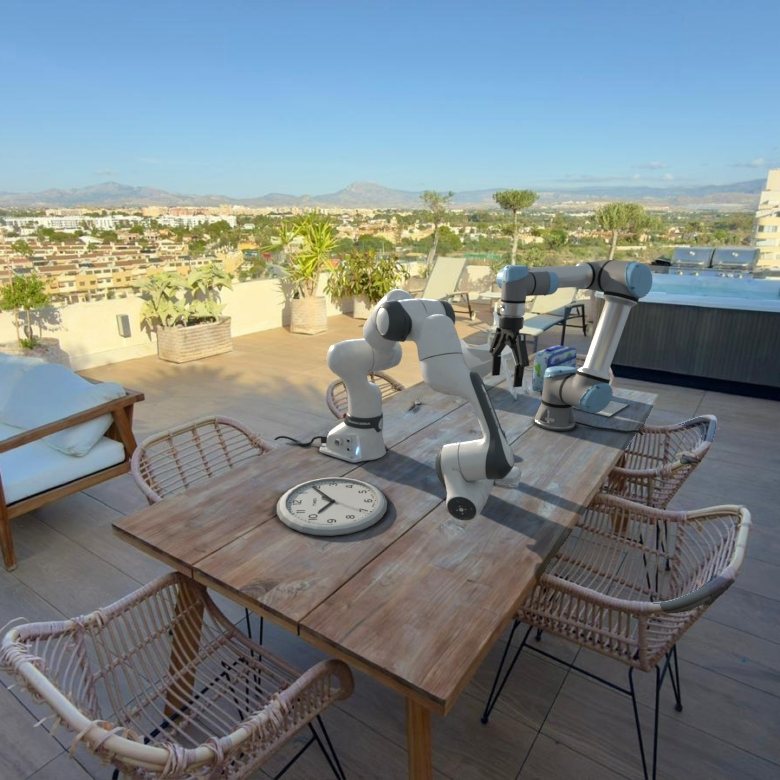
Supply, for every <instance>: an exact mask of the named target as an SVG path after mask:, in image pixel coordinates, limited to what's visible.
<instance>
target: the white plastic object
mask: <svg viewBox="0 0 780 780" xmlns="http://www.w3.org/2000/svg"><path fill="white" fill-rule="evenodd" d="M492 315H493V319H494V321H495V324H496V325H495V326H496V328H498V327H499V317H500V315H499V314H498V312H497V311H496V310H495V311H492ZM459 340H460V344H461V348H462V352H463V357H464V360H465V363H466V365H467V366H468V368H469V369H470V370H471V371H472V372H476V373H478V374H479V376H480V377H481V379H482V380H483V381H484V378H485V377H486V376H487V375H489V374H490V373H492V362H493V356H492V353H490V352H489V350H490V347H491V345H490V344H489V343H488V342H487V343H483V344H479V345H473V346H469V345H468V343H466V342H465V340H464V339H463V338H459ZM499 356H501V366H502V370H503V373H504V376H505V380H506V383H507V386H508V390H509V393H510V394H511V395H512V397H513V398H514V399H515V400H517V392H516V391H517V390H516V387H513V383H514V380H513V378H512V375H511V371H510V369H509V365H508V361H510V360H513V363H514V367H515V366H516V362H515V358H514V355H513V352H512V349H511V348H510V347H509V346H508V345H506V346H505V348H504V349H503V351H502V352H501V355H499ZM528 387H529V386H528V384H527V381H526V378H525V375H523V381H522V387H521V389H522V391H523V393H524V395H525V396H526V397H528V396H531V395H530V390H529V388H528Z"/></svg>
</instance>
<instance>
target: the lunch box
mask: <svg viewBox="0 0 780 780" xmlns="http://www.w3.org/2000/svg"><path fill="white" fill-rule="evenodd" d="M576 362H577V348H576V347H571V346H565V345H553V346H550V347H546V348H545V349H542V350H539V351H538V352H537V353H536V354H535V356H534V358H533V365H532V376H531V377H532V378H531V390H532V391H533V392H537V393H541V394H542V390H543V378H544V375H545V370H546V369H547V368H549V367H555V366H568V367H575V368H576V364H577V363H576Z"/></svg>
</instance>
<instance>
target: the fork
mask: <svg viewBox="0 0 780 780" xmlns="http://www.w3.org/2000/svg"><path fill="white" fill-rule="evenodd" d="M422 400H423V398H422V396H416V399H415V401H414V404H412V405H411V406H410V408H409V409H408V412H410V411H411V410H413V409H414V408H415V407H416V405H419V404H421V403H422Z"/></svg>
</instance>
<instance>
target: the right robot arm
mask: <svg viewBox="0 0 780 780" xmlns="http://www.w3.org/2000/svg"><path fill="white" fill-rule="evenodd" d="M495 278H496V279H495V280H496V281H495V282H496V285H497V287H499V289H500V290H501V295H500V306H499V314H500V315H499V327H498V328H497V327H496V328H495V333H494V337H493V339H492V341H491V345H490V350H489V352H490V353H492V356H493V362H492V372H491V376H492V377H494V376H495V377H497V376H500V375H501V366H502V363H501V356H499V355H501V352H502V351H503V349H504V348H505V346H506V345H508V346H509V347H510V348H511V349H512V352H513V355H514V358H515V362H516V366H515V365H514V373H513V387H514V388H522V381H523V375H524V373H525V368H526V367H530V360H529V354H528V349H527V342H526V341H527V340H526V339H527V337H526V334H520V330H522V329H524V323H525V318H524V316H525V313H526V302H527V297H532V296H533V297H535V296H537V297H538V296H544V297H546V296H549V295H550V296H551V295H553V294H555V293H556V292H557V291H558V289H564V288H576V289H577V290H589V291H594V292H600V293H603V294H602V297H603V299H604V304H603V308H602V310H601V313H600V317H599V320H598V322H597V325H596V328H595V331H594V334H593V336H592V340H591V343H590V346H589V349H588V351H587V354H586V357H585V360H584V363H583V366H581V367H579V368H577V367H576V366H575V367H568V366H555V367H549V368H547V369H546V370H545V375H544V378H543V390H542V393H541V402H540V405H539V407H538V410H537V411H536V413H535V416H534V424H535V425H536V426H537V427H539V428H542V429H544V430H549V431H556V432H567V431H572V430H574V429H575V428H576V425H579V426H584V427H587V428H590V429H595V430H603V431H611V432H616V433H617V432H618V433H622V434H631V433H637V434H640V436H645V434H644V433H643V432H642V431H641V430H638V429H631V430H624V429H619V428H611V427H603V426H597V425H591V424H588V423H585V422H581V421H576V418H575V417H576V416H575V413H574V407H576V408H579V409H578V410H580V409H581V411H582V412H587V413H590V414H596V413H597V412H600V411H601V410H603V409H604V408H605V407H606V406H607V405H608V404H609V402H610V401H612V399H613V395H614V392H613V388H612V386H611V384H610V381H611V377H610V375H609V371H610V368H611V365H612V362H613V360H614V356H615V354H616V352H617V349H618V346H619V342H620V340H621V337H622V334H623V331H624V329H625V326H626V323H627V320H628V317H629V314H630V311H631V309H632V308H633V307H634V306H637V305H638V303H639V301H640V299H642V298H645V297H646V296H647V295H648V294H649V293H650V291H651V290H652V287H653V274H652V270H651V268H650V267H649V266H648V264H646V263H643V262H640V261H634V260H631V261H630V260H614V259H602V260H601V259H600V260H594V261H585V262H579V263H577V264H576V265H561V266H559V265H558V266H557V265H556V266H535V267H529V266H527V265H525V264H508V265H505V266H504V267H503V268H501V269H499V271H498V272H497V274H496V277H495ZM524 376H525V375H524ZM576 408H575V409H576Z"/></svg>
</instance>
